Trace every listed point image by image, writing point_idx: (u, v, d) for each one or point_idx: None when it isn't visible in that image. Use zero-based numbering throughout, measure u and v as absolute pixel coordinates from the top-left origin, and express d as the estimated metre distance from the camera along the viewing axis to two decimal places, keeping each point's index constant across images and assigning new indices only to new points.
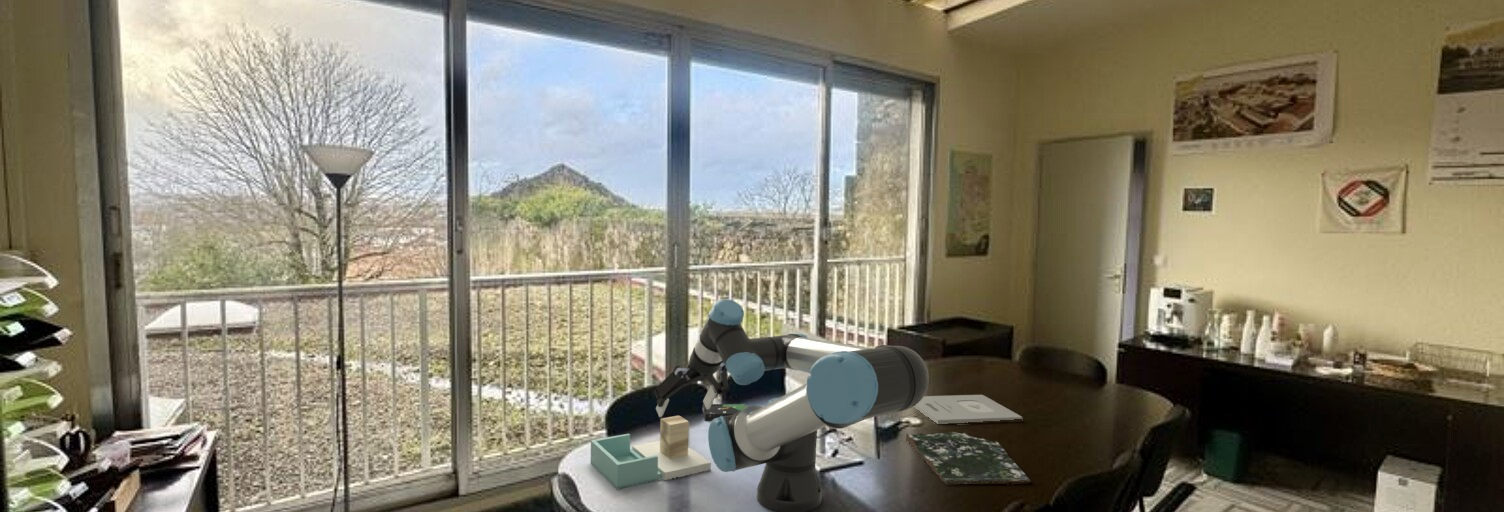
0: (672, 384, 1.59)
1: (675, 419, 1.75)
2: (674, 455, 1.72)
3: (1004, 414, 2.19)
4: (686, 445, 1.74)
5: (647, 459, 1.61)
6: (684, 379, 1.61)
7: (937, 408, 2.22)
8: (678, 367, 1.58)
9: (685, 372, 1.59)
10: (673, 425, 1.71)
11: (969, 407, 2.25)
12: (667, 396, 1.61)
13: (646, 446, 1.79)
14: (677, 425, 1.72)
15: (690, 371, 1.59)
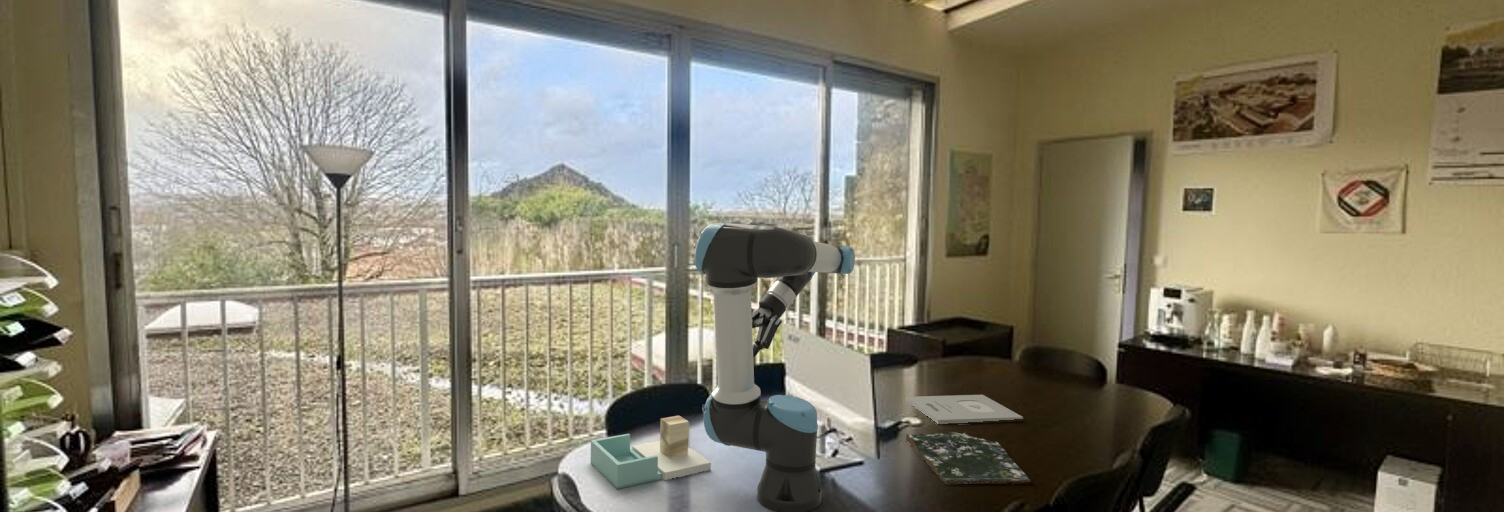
0: None
1: (675, 419, 1.75)
2: (674, 455, 1.72)
3: (1005, 414, 2.19)
4: (686, 445, 1.74)
5: (647, 459, 1.61)
6: None
7: (938, 408, 2.22)
8: None
9: (754, 312, 1.91)
10: (673, 425, 1.71)
11: (970, 407, 2.26)
12: None
13: (646, 446, 1.79)
14: (677, 425, 1.72)
15: None
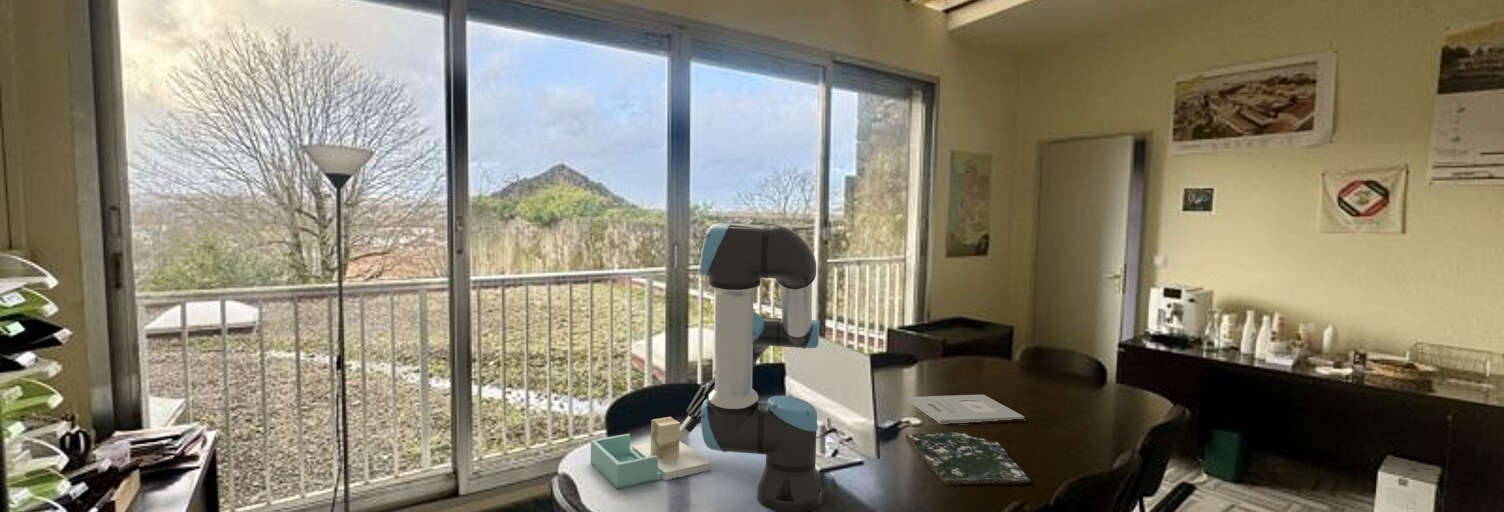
0: (697, 394, 1.83)
1: (666, 420, 1.73)
2: (664, 457, 1.71)
3: (1006, 414, 2.19)
4: (677, 447, 1.72)
5: (647, 459, 1.61)
6: None
7: (940, 408, 2.22)
8: None
9: (708, 384, 1.85)
10: (664, 426, 1.70)
11: (971, 407, 2.26)
12: (691, 411, 1.79)
13: (646, 446, 1.79)
14: (668, 426, 1.70)
15: (710, 380, 1.85)
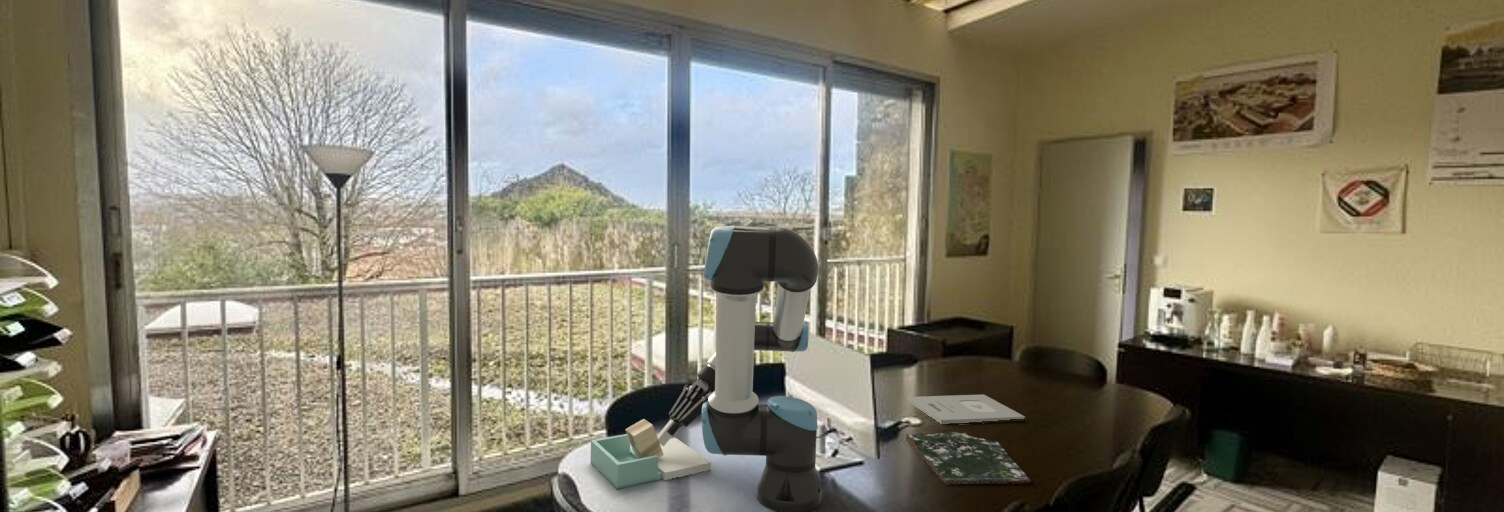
0: (680, 397, 1.80)
1: (640, 426, 1.69)
2: None
3: (1007, 413, 2.19)
4: (658, 447, 1.69)
5: (647, 459, 1.61)
6: None
7: (940, 408, 2.22)
8: None
9: (691, 387, 1.82)
10: (637, 435, 1.66)
11: (971, 407, 2.26)
12: (673, 414, 1.76)
13: None
14: (642, 432, 1.66)
15: None
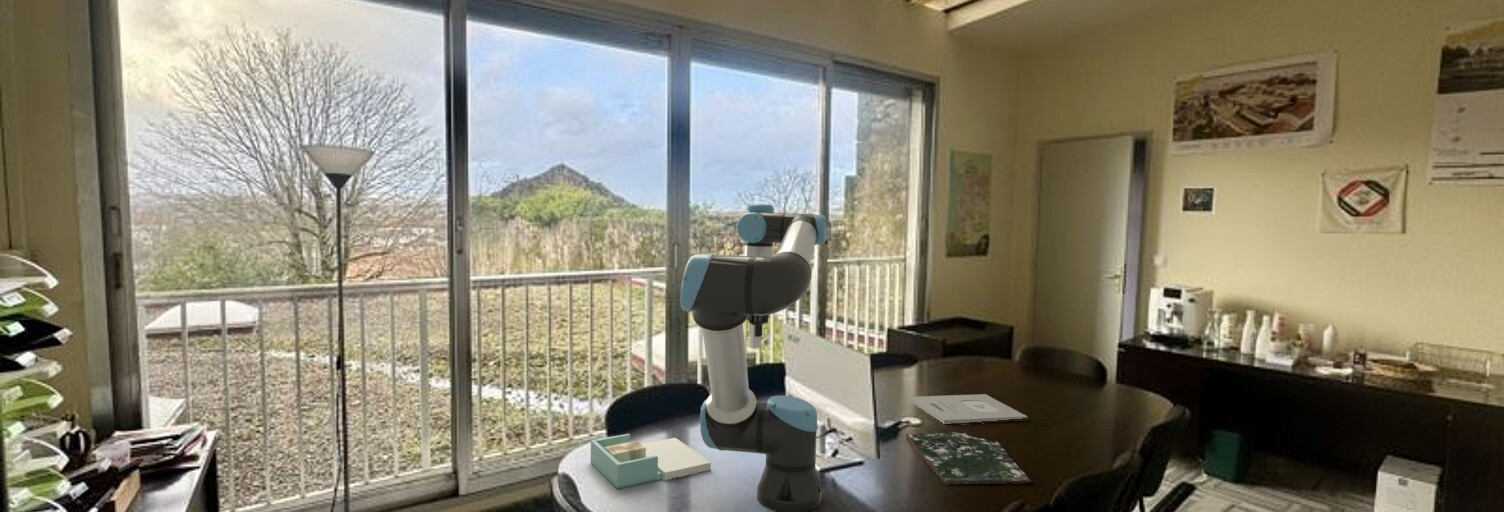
0: None
1: None
2: None
3: (1009, 413, 2.19)
4: (636, 451, 1.66)
5: (647, 459, 1.61)
6: None
7: (942, 408, 2.22)
8: None
9: None
10: None
11: (974, 407, 2.26)
12: (749, 318, 1.80)
13: (646, 446, 1.79)
14: None
15: None
